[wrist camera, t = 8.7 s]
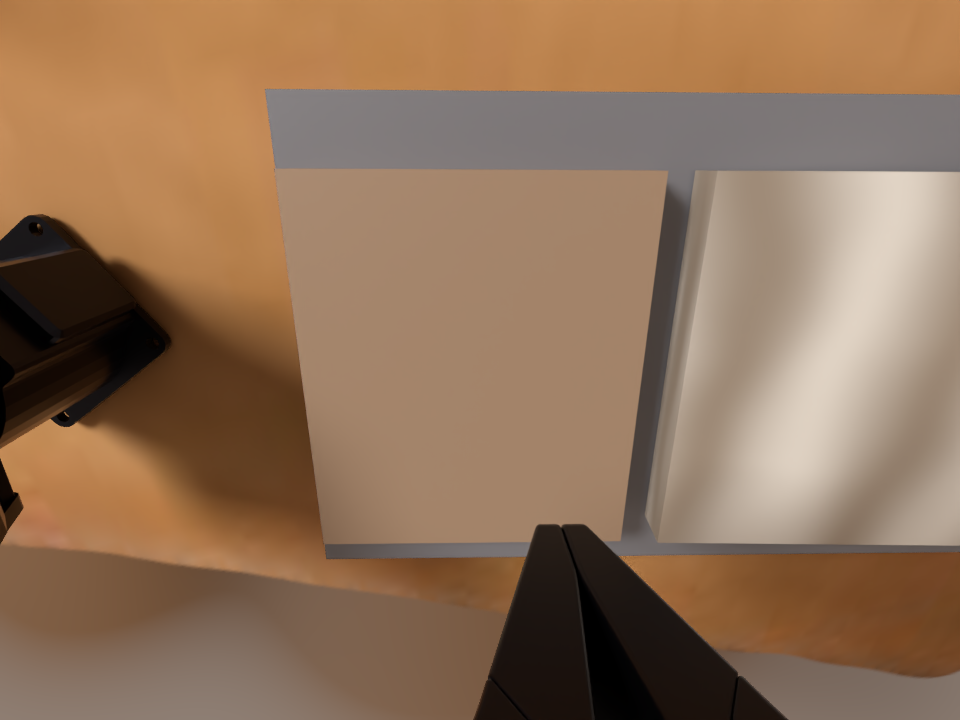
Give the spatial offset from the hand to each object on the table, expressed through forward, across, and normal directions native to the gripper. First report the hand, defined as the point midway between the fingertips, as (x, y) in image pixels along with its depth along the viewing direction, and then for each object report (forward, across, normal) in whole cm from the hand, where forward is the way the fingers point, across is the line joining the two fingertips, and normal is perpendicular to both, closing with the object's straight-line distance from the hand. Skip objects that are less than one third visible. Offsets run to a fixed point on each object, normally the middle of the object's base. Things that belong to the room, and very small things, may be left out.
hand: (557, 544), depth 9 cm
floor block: (+13, -6, 0) cm, 15 cm away
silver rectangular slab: (+8, -12, 0) cm, 15 cm away
